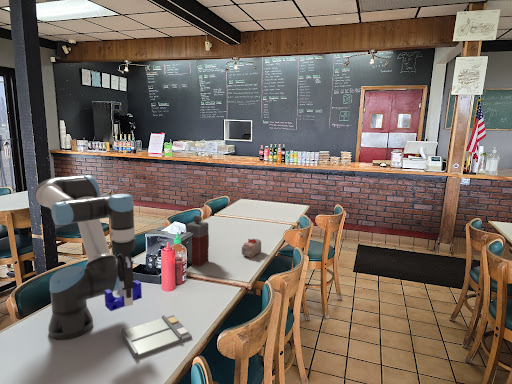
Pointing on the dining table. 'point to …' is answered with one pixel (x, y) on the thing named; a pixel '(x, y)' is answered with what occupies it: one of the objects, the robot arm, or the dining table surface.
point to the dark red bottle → (199, 240)
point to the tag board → (155, 336)
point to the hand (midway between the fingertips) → (126, 301)
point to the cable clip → (118, 302)
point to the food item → (251, 248)
